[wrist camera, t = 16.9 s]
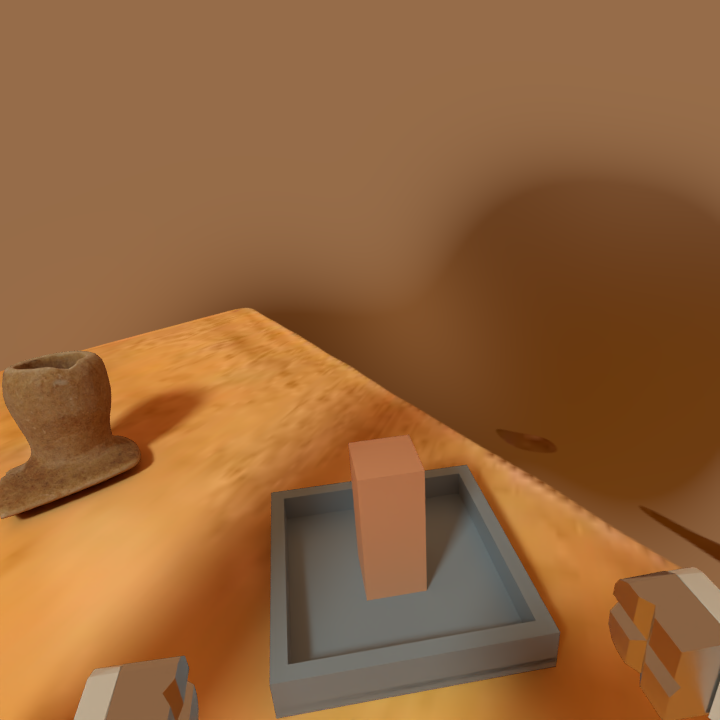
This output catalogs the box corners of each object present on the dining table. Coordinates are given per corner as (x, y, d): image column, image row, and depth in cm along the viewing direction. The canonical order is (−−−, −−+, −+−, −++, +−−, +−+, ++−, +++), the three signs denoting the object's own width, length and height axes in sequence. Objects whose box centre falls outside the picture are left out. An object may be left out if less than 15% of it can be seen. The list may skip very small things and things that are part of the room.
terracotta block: (367, 600, 44) (356, 480, 39) (358, 555, 48) (348, 443, 43) (426, 590, 44) (424, 470, 39) (412, 546, 49) (409, 434, 44)
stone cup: (125, 433, 72) (95, 330, 66) (152, 474, 63) (120, 359, 57) (-5, 480, 64) (-53, 367, 58) (5, 534, 55) (-50, 407, 49)
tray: (276, 718, 36) (269, 684, 35) (275, 520, 55) (271, 492, 53) (555, 666, 39) (560, 632, 37) (466, 492, 57) (466, 464, 55)
